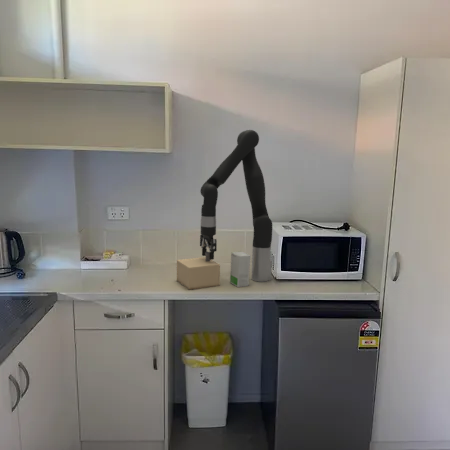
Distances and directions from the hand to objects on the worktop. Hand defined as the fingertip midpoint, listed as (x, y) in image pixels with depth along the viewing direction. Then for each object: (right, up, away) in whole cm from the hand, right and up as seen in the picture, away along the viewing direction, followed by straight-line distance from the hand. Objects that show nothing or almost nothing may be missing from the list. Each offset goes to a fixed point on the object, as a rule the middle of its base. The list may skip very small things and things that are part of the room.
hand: (207, 257), depth 202 cm
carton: (-5, -13, 0) cm, 14 cm away
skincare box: (+16, -13, -1) cm, 21 cm away
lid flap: (-5, -3, -2) cm, 6 cm away
